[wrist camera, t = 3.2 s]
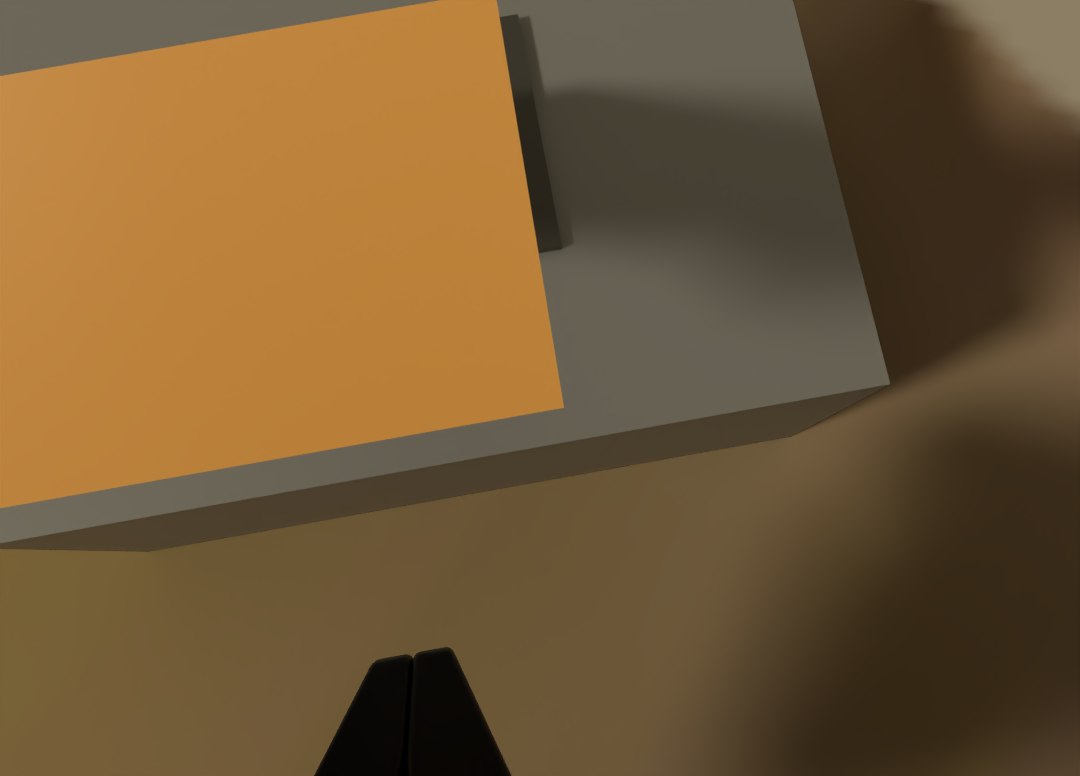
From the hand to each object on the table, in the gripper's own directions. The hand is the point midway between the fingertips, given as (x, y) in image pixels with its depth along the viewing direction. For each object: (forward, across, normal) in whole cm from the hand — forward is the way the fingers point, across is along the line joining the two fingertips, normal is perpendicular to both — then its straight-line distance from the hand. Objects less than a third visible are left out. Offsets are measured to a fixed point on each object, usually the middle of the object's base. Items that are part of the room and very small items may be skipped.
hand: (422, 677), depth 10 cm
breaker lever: (+7, 0, -3) cm, 7 cm away
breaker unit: (+12, 0, +1) cm, 12 cm away
